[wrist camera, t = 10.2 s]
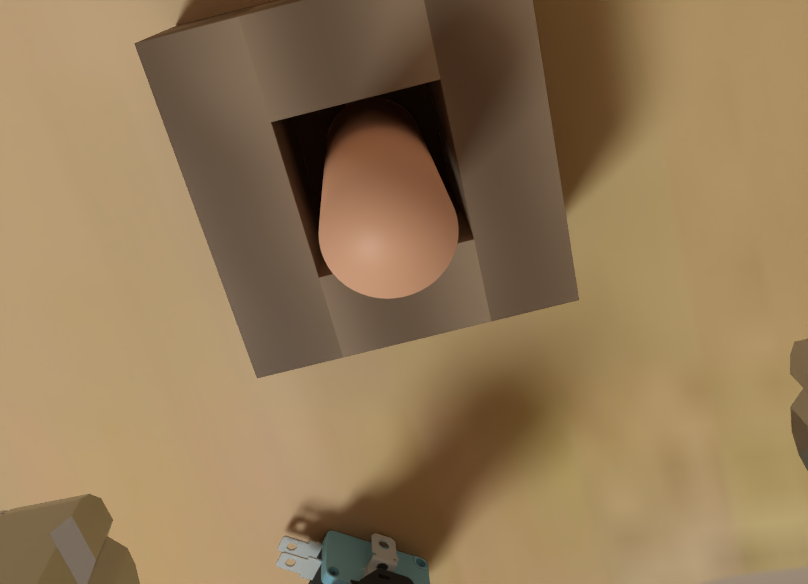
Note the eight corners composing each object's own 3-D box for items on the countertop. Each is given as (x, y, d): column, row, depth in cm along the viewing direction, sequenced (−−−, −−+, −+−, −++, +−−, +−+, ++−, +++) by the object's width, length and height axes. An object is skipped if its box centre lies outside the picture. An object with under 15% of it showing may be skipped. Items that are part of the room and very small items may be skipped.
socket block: (488, -55, 23) (523, -57, 19) (540, 242, 27) (578, 299, 23) (174, 26, 24) (134, 43, 19) (271, 308, 28) (257, 378, 23)
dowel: (410, 87, 25) (443, 150, 17) (430, 179, 26) (470, 280, 18) (315, 110, 25) (301, 184, 17) (339, 201, 26) (338, 312, 18)
